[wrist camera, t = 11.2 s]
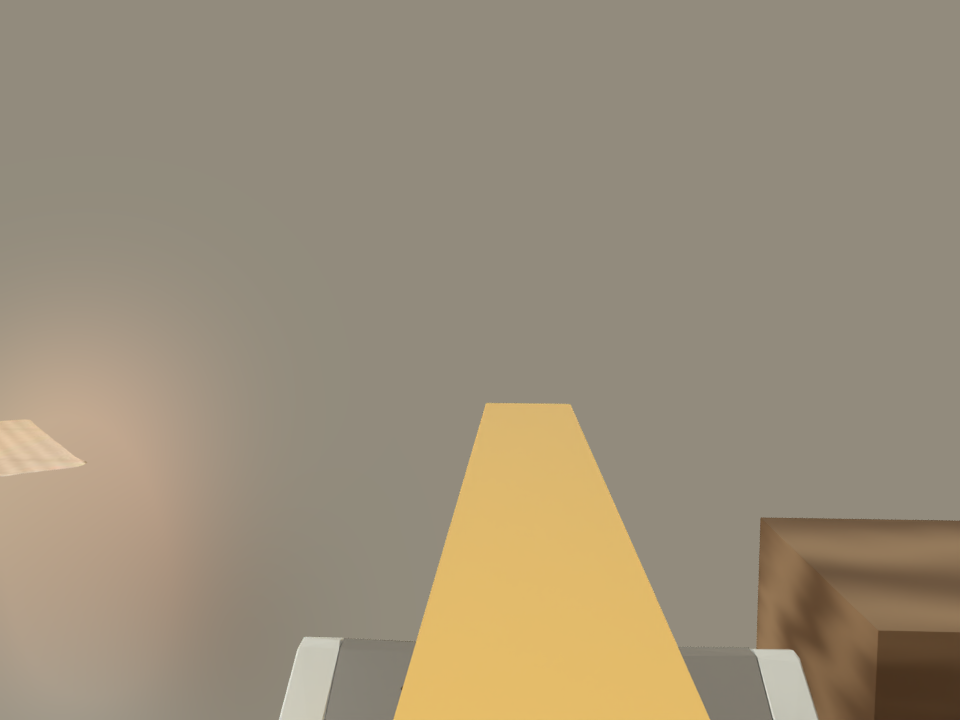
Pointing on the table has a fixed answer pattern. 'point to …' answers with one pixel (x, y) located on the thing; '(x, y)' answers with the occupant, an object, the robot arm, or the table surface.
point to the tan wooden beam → (542, 592)
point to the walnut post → (866, 613)
